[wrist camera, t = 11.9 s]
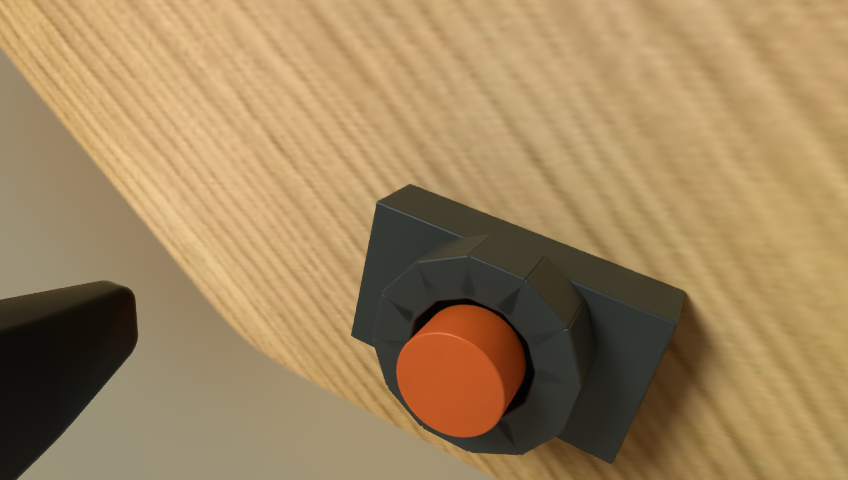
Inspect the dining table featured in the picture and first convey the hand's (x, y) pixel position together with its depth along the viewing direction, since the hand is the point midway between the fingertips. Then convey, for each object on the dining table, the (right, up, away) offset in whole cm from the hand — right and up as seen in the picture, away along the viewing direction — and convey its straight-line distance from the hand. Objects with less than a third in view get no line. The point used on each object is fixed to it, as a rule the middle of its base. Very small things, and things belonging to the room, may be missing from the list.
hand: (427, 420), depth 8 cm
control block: (+3, 0, +13) cm, 13 cm away
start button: (+1, -1, +10) cm, 10 cm away
